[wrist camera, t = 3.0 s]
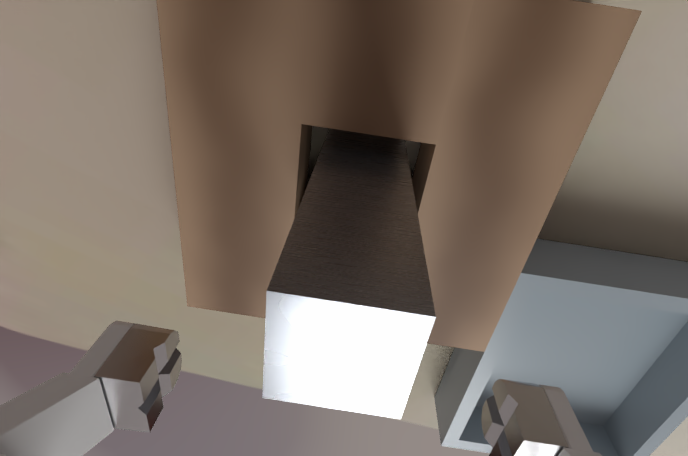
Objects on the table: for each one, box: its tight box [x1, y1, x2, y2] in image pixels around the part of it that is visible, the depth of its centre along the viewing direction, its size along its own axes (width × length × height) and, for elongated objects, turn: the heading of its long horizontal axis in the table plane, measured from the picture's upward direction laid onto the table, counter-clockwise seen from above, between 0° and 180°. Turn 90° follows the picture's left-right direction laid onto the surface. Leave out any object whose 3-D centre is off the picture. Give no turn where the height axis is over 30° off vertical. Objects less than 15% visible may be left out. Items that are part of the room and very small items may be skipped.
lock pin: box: [263, 128, 436, 419], centre depth 16 cm, size 4×4×14 cm
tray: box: [435, 239, 688, 456], centre depth 26 cm, size 14×16×4 cm
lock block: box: [157, 0, 642, 352], centre depth 20 cm, size 18×18×4 cm
